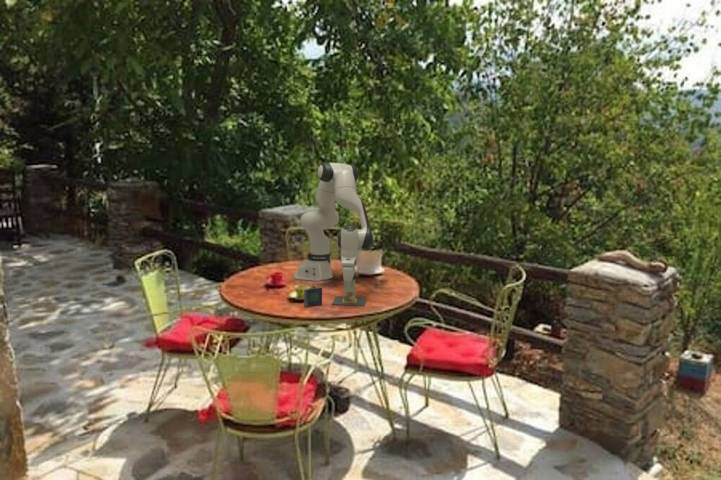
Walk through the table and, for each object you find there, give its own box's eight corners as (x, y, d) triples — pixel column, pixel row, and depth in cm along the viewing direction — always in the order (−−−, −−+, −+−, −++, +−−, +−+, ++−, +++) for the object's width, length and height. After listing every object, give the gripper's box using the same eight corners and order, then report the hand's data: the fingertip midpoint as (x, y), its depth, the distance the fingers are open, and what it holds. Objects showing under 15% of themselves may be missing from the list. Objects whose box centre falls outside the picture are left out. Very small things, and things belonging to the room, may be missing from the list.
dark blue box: (305, 307, 281) (305, 286, 279) (303, 306, 284) (302, 284, 282) (323, 305, 286) (322, 283, 283) (320, 303, 288) (320, 282, 286)
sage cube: (344, 291, 288) (344, 282, 287) (345, 289, 293) (345, 279, 292) (354, 292, 287) (354, 282, 286) (355, 289, 292) (355, 279, 291)
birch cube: (344, 301, 289) (344, 291, 288) (345, 298, 293) (345, 289, 292) (354, 302, 288) (354, 292, 287) (355, 299, 293) (355, 289, 292)
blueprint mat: (331, 305, 285) (331, 303, 285) (335, 297, 298) (335, 296, 298) (364, 306, 284) (364, 304, 284) (366, 298, 297) (366, 297, 296)
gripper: (345, 253, 297) (345, 280, 300) (340, 263, 277) (340, 291, 280) (358, 254, 296) (358, 280, 299) (353, 263, 277) (353, 292, 279)
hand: (349, 286), depth 289 cm, fingers open, 7 cm apart
